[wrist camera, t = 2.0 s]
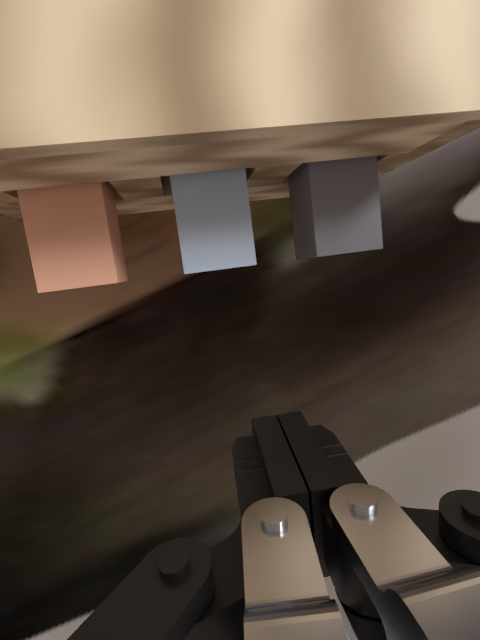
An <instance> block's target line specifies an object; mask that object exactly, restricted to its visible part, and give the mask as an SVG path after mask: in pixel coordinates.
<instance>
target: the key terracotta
mask: <svg viewBox="0 0 480 640" xmlns="http://www.w3.org/2000/svg"><path fill="white" fill-rule="evenodd" d="M17 194H18V199H19V204H20V209H21V213H22V218H23V223H24V228H25V233H26V238H27V243H28V247H29V252H30V257H31V262H32V267H33V272H34V277H35V281H36V286H37V291H38V293H43V292H51V291H59V290H66V289H74V288H82V287H90V286H97V285H105V284H113V283H120V282H126V281H129V280H128V275H127V269H126V263H125V257H124V251H123V245H122V239H121V233H120V227H119V222H118V216H117V210H116V204H115V198H114V192H113V186H112V185H111V183H110V182H109V181H107V182H96V183H86V184H75V185H65V186H54V187H43V188H33V189H22V190H17Z"/></svg>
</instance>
